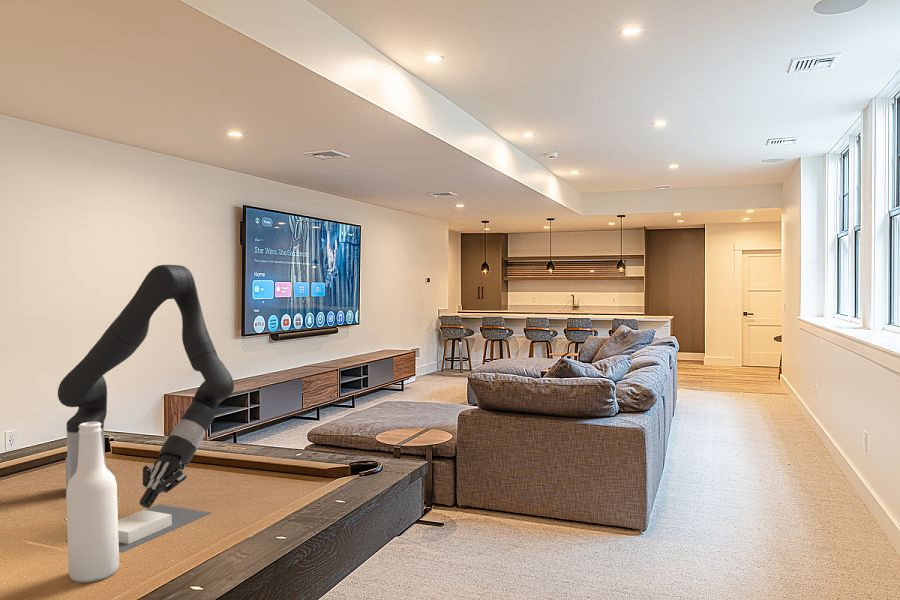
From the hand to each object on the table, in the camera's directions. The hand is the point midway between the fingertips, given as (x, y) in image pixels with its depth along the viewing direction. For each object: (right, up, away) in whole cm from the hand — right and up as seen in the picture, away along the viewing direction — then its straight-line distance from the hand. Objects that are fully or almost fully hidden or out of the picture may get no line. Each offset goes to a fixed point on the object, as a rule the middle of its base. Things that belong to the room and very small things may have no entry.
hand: (143, 506), depth 153 cm
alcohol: (+1, -6, -23) cm, 24 cm away
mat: (-1, -6, +2) cm, 6 cm away
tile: (+2, -4, +3) cm, 5 cm away
